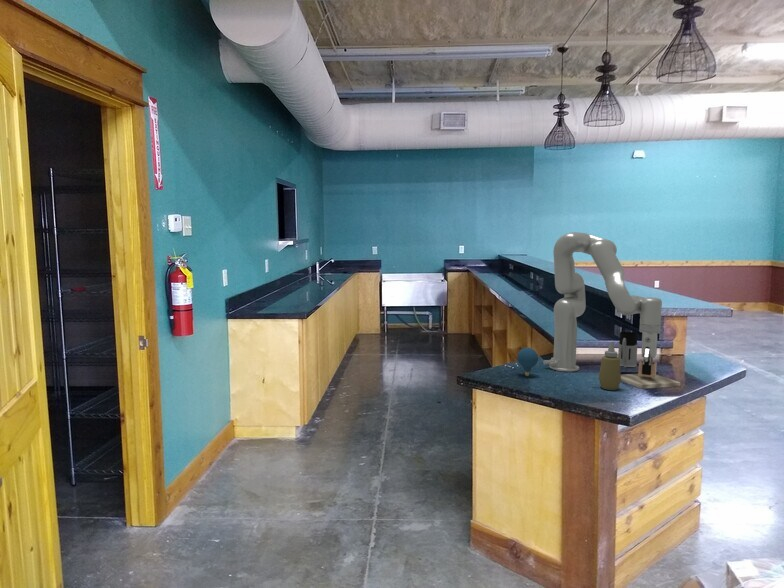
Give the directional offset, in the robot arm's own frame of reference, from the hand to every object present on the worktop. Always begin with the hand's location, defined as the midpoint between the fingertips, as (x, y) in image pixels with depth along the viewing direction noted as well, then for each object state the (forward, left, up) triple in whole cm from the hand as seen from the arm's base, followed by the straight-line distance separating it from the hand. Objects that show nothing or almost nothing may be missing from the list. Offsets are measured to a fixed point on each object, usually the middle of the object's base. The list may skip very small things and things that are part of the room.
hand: (647, 372), depth 220 cm
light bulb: (-43, +19, -4) cm, 47 cm away
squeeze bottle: (-21, -5, -4) cm, 22 cm away
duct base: (0, 0, -4) cm, 4 cm away
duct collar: (0, 0, -1) cm, 1 cm away
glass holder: (+10, +26, -4) cm, 28 cm away
